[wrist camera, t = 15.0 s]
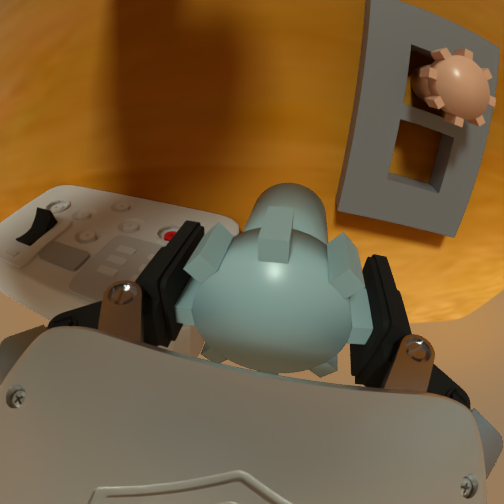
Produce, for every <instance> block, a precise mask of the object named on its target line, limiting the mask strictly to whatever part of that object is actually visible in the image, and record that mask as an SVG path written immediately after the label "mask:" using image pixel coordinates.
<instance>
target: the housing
mask: <svg viewBox="0 0 504 504" xmlns="http://www.w3.org/2000/svg"><path fill="white" fill-rule="evenodd" d="M442 48H447V49H448V50H449V52H450V53H451V55H452V56H453V55H454V50H456V49H464V48H465V49H467V50H469V51H471V52H473V61H474V62H475V63H476V64H477V65H478V66H479V67H480V68H488V69H489V71H490V73H491V75H492V78H491V79H489V80H487V81H488V84H489V89H490V95H491V96H492V97H494V98H495V92H496V84H497V75H498V64H499V47H497V46H496V45H494V44H492V43H491V42H489V41H487V40H486V39H484V38H482V37H480V36H479V35H477V34H475V33H473V32H471V31H469V30H467V29H465V28H463V27H461V26H459V25H457V24H455V23H453V22H451V21H449V20H447V19H445V18H442V17H440V16H438V15H436V14H433V13H431V12H428V11H426V10H423V9H421V8H418V7H415V6H413V5H410V4H407V3H404V2H401V1H398V0H366V2H365V15H364V27H363V37H362V46H361V55H360V63H359V71H358V79H357V86H356V93H355V99H354V106H353V112H352V118H351V124H350V129H349V135H348V141H347V146H346V151H345V156H344V161H343V166H342V171H341V176H340V181H339V186H338V190H337V195H336V199H335V200H336V205H337V210H338V211H340V212H345V213H350V214H355V215H360V216H364V217H369V218H374V219H378V220H383V221H388V222H392V223H396V224H401V225H405V226H409V227H413V228H418V229H422V230H426V231H430V232H434V233H438V234H442V235H446V236H449V237H453V238H455V235H456V233H457V231H458V228H459V226H460V223H461V221H462V218H463V215H464V213H465V210H466V207H467V204H468V202H469V199H470V196H471V193H472V190H473V187H474V184H475V181H476V177H477V174H478V171H479V167H480V164H481V160H482V156H483V152H484V148H485V144H486V140H487V136H488V131H489V127H490V122H491V116H492V111H493V107H491V106H488V107H487V109H486V111H485V112H484V113H483V114H482V115H483V118H484V120H485V122H486V123H484V124H483V125H481V126H480V127H479V126H476V125H474V124H471V123H468V121H467V119H464V122H463V127H460V126H457V125H455V124H452V123H449V122H447V121H444V118H443V117H440V116H437V115H435V114H432V113H429V112H426V111H424V110H421V109H418V108H415V107H412V106H409V105H406V104H403V101H404V95H405V89H406V83H407V76H408V68H409V60H410V51H413V52H416V53H419V54H421V55H424V56H427V57H429V58H432V59H434V58H433V57H432V55H431V54H430V53H431V52H433V51H435V50H437V49H442ZM400 119H402V120H405V121H408V122H411V123H415V124H418V125H421V126H424V127H426V128H429V129H432V130H435V131H438V132H440V133H442V135H441V140H440V144H439V148H438V152H437V156H436V160H435V164H434V167H433V171H432V174H431V178H430V181H429V184H428V183H425V182H422V181H418V180H415V179H411V178H408V177H404V176H400V175H397V174H393V173H389V168H390V164H391V160H392V156H393V151H394V147H395V142H396V138H397V133H398V128H399V123H400ZM462 119H463V118H462Z"/></svg>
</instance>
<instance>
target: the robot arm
mask: <svg viewBox="0 0 504 504" xmlns="http://www.w3.org/2000/svg"><path fill="white" fill-rule="evenodd" d="M203 236H204V226H201V224H200V222H195V221H189V220H186V221H185V222H184V224H183V225H182V226H181V227H180V229H179V230H178V231H177V232H176V234H175V235H174V236H173V237H172V239H171V240H170V241H169V242H168V244H167V245H166V246H165V247H161V248H160V249H159V251H158V252H157V253H156V254H155V256H154V257H153V258H152V259H151V261H150V262H149V263H148V265H147V266H146V267H145V268H144V270H143V271H142V272H141V274H140V275H139V276H138V278H137V279H136V280H135V282H133V281H128V280H123V281H118V282H115V283H113V284H111V285H110V286H108V288H107V289H106V290H105V292H104V294H103V300H102V301H99V302H95V303H92V304H89V305H86V306H82V307H79V308H76V309H73V310H70V311H66V312H63V313H60V314H58V315H56V316H55V317H54V318H52V320H51V321H50V322H49V325H48V327H45V326H44V325H41V326H38V327H35V328H32V329H29V330H27V331H24V332H21V333H18V334H15V335H12V336H9V337H7V338H6V339H4V340H3V341H2V342H1V344H0V385H1V386H0V504H487V493H486V492H487V491H486V479H487V478H488V476H489V474H490V472H491V471H492V469H493V467H494V465H495V463H496V461H497V459H498V457H499V455H500V453H501V451H502V448H503V440H502V436H501V435H500V433H499V432H498V431H497V430H496V429H495V428H494V427H493V426H492V425H491V424H490V423H489V422H488V421H487V420H486V419H485V418H484V417H483V416H482V415H481V414H480V413H479V412H478V411H477V410H476V409H475V408H473V409H472V410H471V409H470V400H469V397H468V395H467V393H466V392H465V391H464V390H463V389H462V388H460V386H458V385H457V384H456V383H455V382H453V381H452V379H450V378H449V377H448V376H447V375H446V374H445V373H444V372H442V371H441V370H440V369H439V368H438V367H437V366H436V365H434V364H433V363H434V357H435V352H434V349H433V347H432V345H431V344H430V343H429V342H428V341H427V340H426V339H425V338H423V337H422V336H419V335H414V334H412V333H411V330H410V326H409V322H408V318H407V315H406V311H405V307H404V304H403V300H402V297H401V294H400V292H399V291H398V290H397V288H396V285H395V282H394V278H393V275H392V272H391V269H390V266H389V263H388V260H387V257H385V256H380V255H375V254H373V255H372V257H368V258H367V260H366V262H365V265H364V268H363V270H362V273H363V278H364V283H365V288H366V290H367V295H368V301H369V306H370V312H371V318H372V324H373V330H372V333H371V335H370V336H369V338H368V340H367V342H366V344H350V357H351V375H352V376H355V384H363V385H364V386H366V387H361V386H351V385H341V384H332V383H325V382H317V381H310V380H303V379H297V378H291V377H285V376H279V375H273V374H268V373H263V372H257V371H252V370H248V369H243V368H238V367H233V366H229V365H224V364H220V363H216V362H212V361H208V360H204V359H200V358H196V357H192V356H188V355H184V354H181V353H177V352H173V351H170V350H167V349H163V348H160V347H157V346H159V345H160V346H164V347H167V348H168V346H169V344H170V342H171V341H175V340H176V339H177V337H178V334H179V332H180V330H181V328H182V326H183V323H177V322H176V316H175V307H174V306H175V304H176V303H177V301H178V299H179V297H180V295H181V294H182V292H183V290H184V288H185V286H186V285H187V283H188V281H189V279H190V278H191V275H190V274H189V273H187V272H186V271H185V270H184V269H183V268H184V267H185V265H186V263H187V262H188V260H189V259H190V257H191V255H192V254H193V252H194V251H195V249H196V247H197V246H198V244H199V243H200V241H201V239H202V238H203Z"/></svg>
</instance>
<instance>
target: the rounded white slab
mask: <svg viewBox="0 0 504 504" xmlns="http://www.w3.org/2000/svg"><path fill="white" fill-rule="evenodd" d="M186 220H189V221H195V222H200V224H201V226H204V235H205V234H206V233H207V232H208V231H209V230H210V229H211V228H212V227H214V226H215V225H216V224H217V223H218V222H220V223H221V224H222V225H223V226H224V227H225V228H226V229H227V230H228V231H229V232H230V233H231V234H232V235H234V236H236V235H238V234H239V225H238V224H237V223H236V222H235V221H234V220H233V219H231V218H228V217H226V216H223V215H219V214H214V213H210V212H205V211H201V210H196V209H191V208H187V207H182V206H177V205H172V204H168V203H163V202H158V201H153V200H148V199H143V198H138V197H133V196H128V195H122V194H117V193H112V192H107V191H101V190H96V189H90V188H85V187H79V186H74V185H62V186H57V187H54V188H52V189H50V190H48V191H46V192H45V193H43V194H42V195H40V196H39V197H37V198H35V199H34V200H32V201H31V202H29V203H28V204H26V205H25V206H23V207H22V208H21V209H19V210H18V211H16V212H15V213H13V214H12V215H11V216H9V217H8V218H6V219H5V220H4V221H2V222H1V223H0V291H1V292H2V293H4V294H5V295H7V296H9V297H10V298H12V299H13V300H15V301H16V302H18V303H20V304H21V305H23V306H25V307H26V308H28V309H30V310H32V311H33V312H35V313H37V314H39V315H41V316H42V317H44V318H46V319H48V320H50V321H51V320H52V318H54V317H55V316H56V315H58V314H60V313H63V312H66V311H70V310H73V309H76V308H79V307H82V306H86V305H89V304H92V303H95V302H99V301H102V300H103V294H104V292H105V290H106V289H107V288H108V286H110V285H111V284H113V283H115V282H118V281H123V280H128V281H133V282H135V280H136V279H137V278H138V276H139V275H140V274H141V272H142V271H143V270H144V268H145V267H146V266H147V265H148V263H149V262H150V261H151V259H152V258H153V257H154V256H155V254H156V253H157V252H158V251H159V249H160V248H161V247H165V246H166V245H167V244H168V242H169V241H170V240H171V239H172V237H173V236H174V235H175V234H176V232H177V231H178V230H179V229H180V227H181V226H182V225H183V224H184V222H185V221H186ZM234 236H233V237H234ZM204 341H205V340H204V339H203V338H202V336H201V335H200V333H199V332H198V330H197V328H196V325H195V326H194V325H188V324H183V326H182V328H181V330H180V332H179V334H178V337H177V339H176V340H175V341H171V342H170V344H169V346H168V348H167V347H164V346H160V345H159V346H157V347H160V348H163V349H167V350H170V351H173V352H177V353H181V354H184V355H188V356H192V357H196V358H197V356H198V355H199V353H200V351H201V349H202V346H203V344H204Z"/></svg>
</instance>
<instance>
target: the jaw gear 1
mask: <svg viewBox="0 0 504 504" xmlns="http://www.w3.org/2000/svg"><path fill="white" fill-rule="evenodd" d="M233 236H234V235H232V234H231V233H230V232H229V231H228V230H227V229H226V228H225V227H224V226H223V225H222V224H221V223H220V222H218V223H217V224H216V225H215V226H214V227H212V228H211V229H210V230H209V231H208V232H207V233H206V234H205V235H204V236H203V238H202V239H201V241H200V243H199V244H198V246H197V247H196V249H195V251H194V252H193V254H192V255H191V257H190V259H189V260H188V262H187V263H186V265H185V267H184V268H183V269H184V270H185V271H186V272H187V273H189V274H190V275H191V278H190V279H189V281H188V283H187V285H186V286H185V288H184V290H183V292H182V294H181V295H180V297H179V299H178V301H177V303H176V304H175V306H174V307H175V316H176V322H177V323H183V324H188V325H194V326H195V325H196V328H197V330H198V332H199V333H200V335H201V336H202V338H203V339H204V340H205V344H204V347H203V349H202V352H201V354H202V355H203V356H204V357H206V358H207V359H209V360H210V361H212V362H216V363H221V362H223V361H225V360H227V359H228V360H230V361H232V362H234V363H236V364H239V365H241V366H244V367H247V368H250V369H254V370H257V372H263V373H268V374H273V375H278V373H291V372H299V371H304V370H308V369H309V370H310V371H312V372H313V373H314V374H316V375H317V376H319V377H323V376H326V375H328V374H331V373H333V372H335V371H337V354H338V353H339V352H340V351H341V350H342V348H343V347H344V346H345V344H346V343H348V344H366V342H367V340H368V338H369V336H370V335H371V333H372V330H373V324H372V318H371V312H370V306H369V301H368V295H367V290H366V288H365V283H364V278H363V273H362V268H361V263H360V259H359V254H358V249H357V248H356V247H355V245H354V244H353V243H352V242H351V240H350V239H349V238H348V237H347V236H346V235H345V233H344V232H343V233H342V234H340V235H339V236H337V237H336V238H335V239H333V240H332V241H330V242H329V243H328V233H327V222H326V212H325V208H324V205H323V203H322V201H321V200H320V198H319V197H318V196H317V195H316V194H315V193H314V192H313V191H312V190H310V189H308V188H307V187H305V186H302V185H299V184H295V183H281V184H277V185H274V186H272V187H270V188H268V189H267V190H265V191H264V192H263V193H262V194H261V195H260V196H259V198H258V199H257V201H256V203H255V205H254V207H253V210H252V212H251V214H250V216H249V219H248V221H247V223H246V226H245V228H244V230H243V232H242V233H240V234H238V235H236V236H234V237H233Z"/></svg>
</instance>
